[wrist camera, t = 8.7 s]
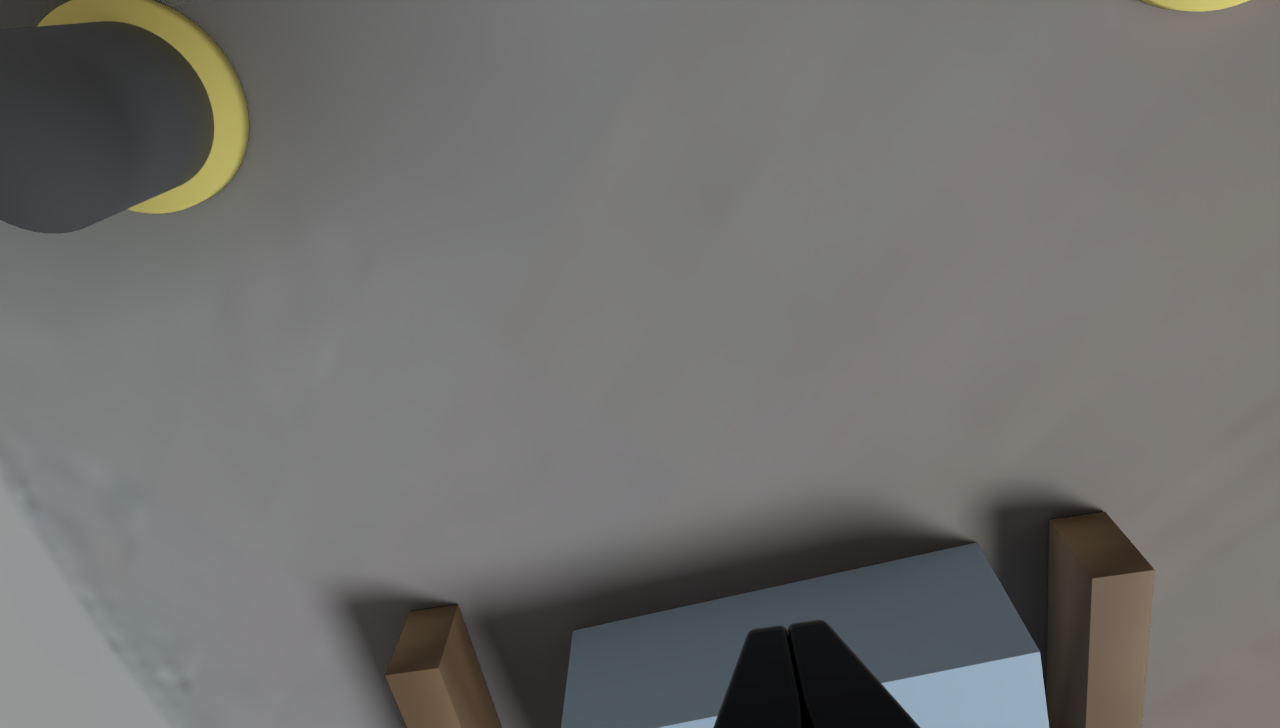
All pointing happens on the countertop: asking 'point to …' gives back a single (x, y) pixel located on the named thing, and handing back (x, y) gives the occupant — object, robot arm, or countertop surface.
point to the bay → (1076, 641)
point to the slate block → (863, 618)
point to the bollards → (133, 113)
